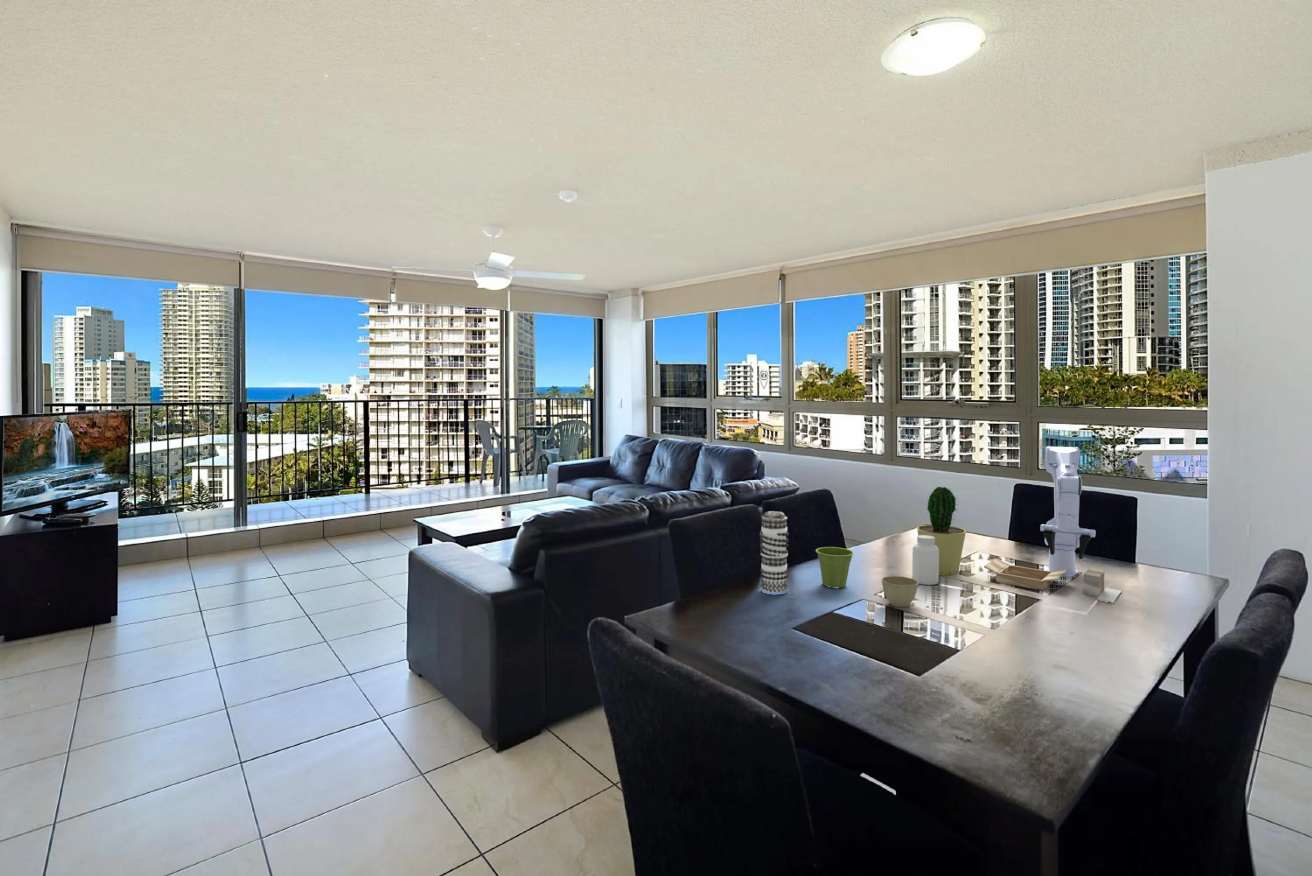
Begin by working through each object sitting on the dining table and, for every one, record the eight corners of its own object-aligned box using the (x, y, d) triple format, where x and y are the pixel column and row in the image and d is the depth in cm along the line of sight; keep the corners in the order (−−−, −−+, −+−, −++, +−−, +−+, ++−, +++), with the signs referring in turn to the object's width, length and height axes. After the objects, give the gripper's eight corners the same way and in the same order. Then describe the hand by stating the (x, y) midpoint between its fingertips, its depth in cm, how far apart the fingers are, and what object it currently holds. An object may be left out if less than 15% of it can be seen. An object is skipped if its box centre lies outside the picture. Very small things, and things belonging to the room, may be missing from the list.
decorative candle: (787, 586, 200) (787, 509, 198) (790, 596, 191) (791, 515, 189) (758, 586, 201) (758, 509, 199) (760, 595, 191) (760, 515, 190)
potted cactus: (918, 575, 210) (920, 487, 208) (913, 563, 225) (915, 481, 223) (968, 579, 206) (970, 489, 204) (960, 566, 220) (962, 482, 218)
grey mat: (1075, 584, 199) (1075, 582, 199) (1121, 592, 190) (1121, 590, 190) (1064, 594, 189) (1064, 593, 189) (1113, 603, 180) (1113, 601, 180)
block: (1088, 587, 194) (1088, 568, 193) (1103, 590, 191) (1104, 571, 190) (1082, 593, 188) (1083, 574, 188) (1098, 596, 185) (1099, 576, 185)
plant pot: (858, 591, 195) (858, 555, 194) (820, 591, 195) (820, 555, 194) (847, 579, 206) (847, 546, 206) (811, 580, 207) (811, 546, 206)
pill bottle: (933, 578, 207) (934, 534, 206) (942, 586, 199) (943, 539, 198) (908, 578, 208) (909, 533, 206) (916, 585, 200) (917, 539, 199)
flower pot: (921, 611, 176) (921, 586, 175) (884, 609, 178) (884, 584, 177) (914, 599, 186) (914, 576, 185) (879, 598, 188) (879, 574, 187)
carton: (995, 572, 213) (996, 558, 212) (1067, 585, 198) (1068, 569, 198) (983, 581, 203) (983, 566, 203) (1057, 594, 189) (1058, 578, 188)
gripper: (1038, 512, 199) (1037, 554, 199) (1093, 518, 188) (1091, 562, 189) (1043, 509, 204) (1042, 550, 205) (1097, 515, 193) (1095, 558, 194)
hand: (1066, 556), depth 197 cm, fingers open, 7 cm apart
